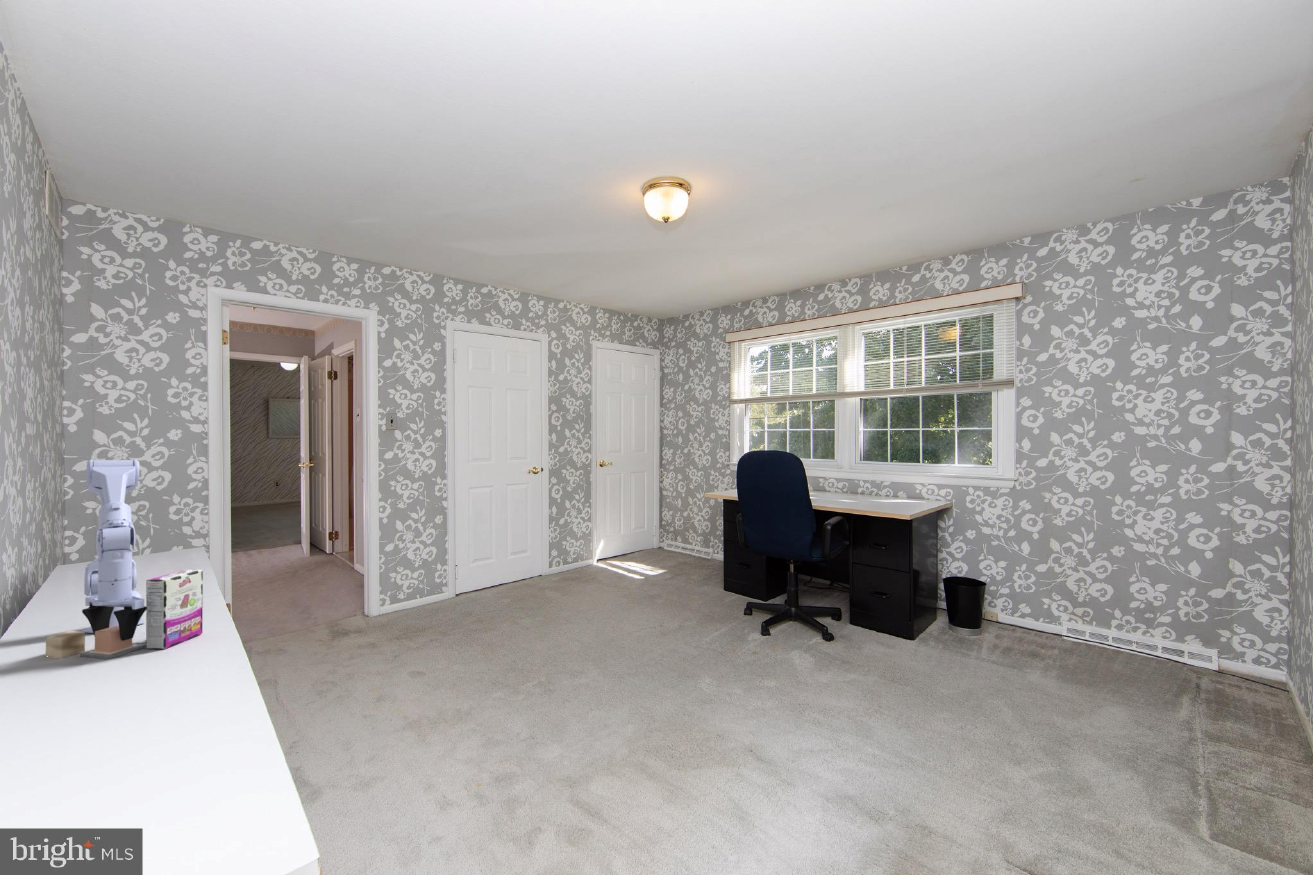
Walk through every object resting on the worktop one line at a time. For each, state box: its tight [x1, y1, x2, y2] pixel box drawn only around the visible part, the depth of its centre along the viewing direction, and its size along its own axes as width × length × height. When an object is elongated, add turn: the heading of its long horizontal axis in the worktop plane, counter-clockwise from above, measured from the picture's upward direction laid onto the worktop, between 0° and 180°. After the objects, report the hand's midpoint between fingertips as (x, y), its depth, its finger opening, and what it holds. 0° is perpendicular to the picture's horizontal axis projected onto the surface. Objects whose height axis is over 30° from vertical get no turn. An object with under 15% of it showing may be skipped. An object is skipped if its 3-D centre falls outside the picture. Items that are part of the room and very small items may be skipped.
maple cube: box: [45, 630, 86, 659], centre depth 131 cm, size 4×4×4 cm
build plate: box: [79, 642, 146, 660], centre depth 132 cm, size 8×8×1 cm
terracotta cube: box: [94, 625, 133, 653], centre depth 132 cm, size 4×4×4 cm
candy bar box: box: [145, 568, 204, 650], centre depth 139 cm, size 11×5×16 cm, turn 179°
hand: (114, 638), depth 132 cm, fingers open, 7 cm apart
